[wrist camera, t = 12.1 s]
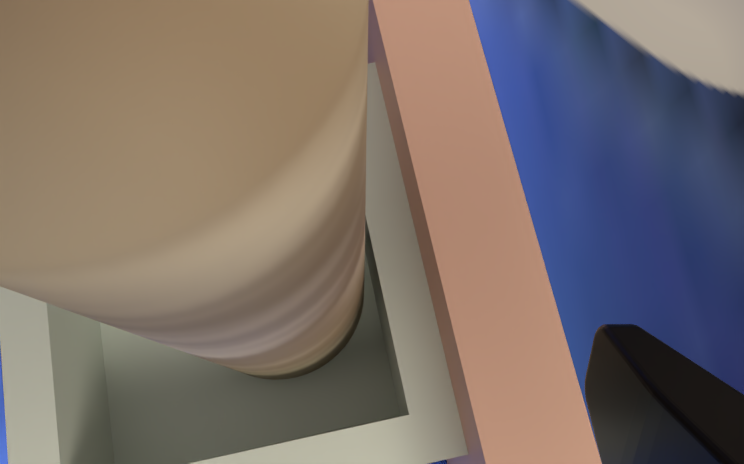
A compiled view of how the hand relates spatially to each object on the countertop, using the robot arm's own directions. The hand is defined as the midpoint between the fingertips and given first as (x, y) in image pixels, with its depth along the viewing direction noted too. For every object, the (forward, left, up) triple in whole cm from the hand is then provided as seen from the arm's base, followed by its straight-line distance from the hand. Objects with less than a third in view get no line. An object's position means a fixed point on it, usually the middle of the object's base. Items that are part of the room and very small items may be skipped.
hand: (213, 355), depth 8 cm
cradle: (+2, +1, -10) cm, 10 cm away
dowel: (+2, 0, -9) cm, 10 cm away
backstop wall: (+2, -5, -10) cm, 12 cm away
